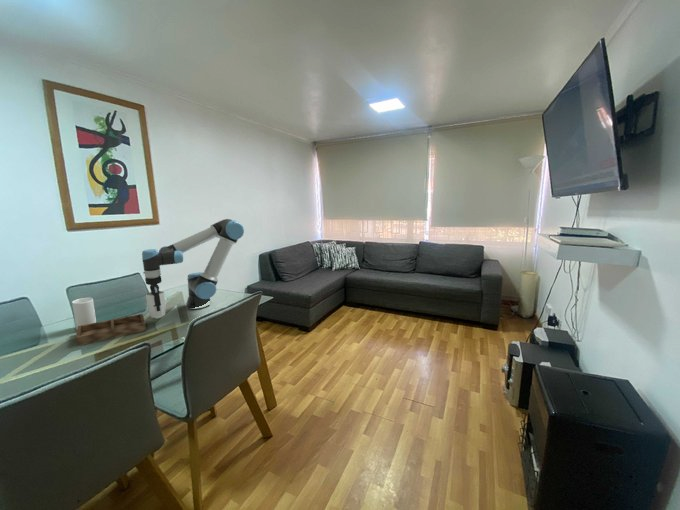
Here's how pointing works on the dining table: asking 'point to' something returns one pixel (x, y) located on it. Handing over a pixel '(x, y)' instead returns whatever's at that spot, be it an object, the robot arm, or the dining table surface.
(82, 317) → the cup
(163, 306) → the cup
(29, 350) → the dining table surface
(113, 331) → the tray
